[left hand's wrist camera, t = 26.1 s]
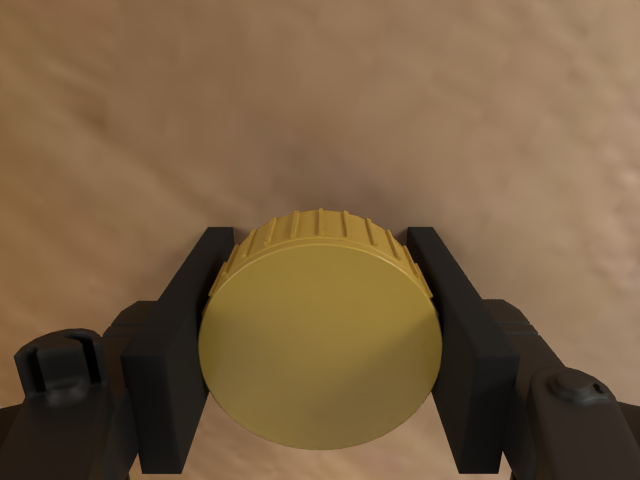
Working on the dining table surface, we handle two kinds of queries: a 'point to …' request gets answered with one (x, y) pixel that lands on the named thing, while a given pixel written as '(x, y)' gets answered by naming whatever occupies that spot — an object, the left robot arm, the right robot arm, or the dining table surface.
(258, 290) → the lid
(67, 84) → the dining table surface
